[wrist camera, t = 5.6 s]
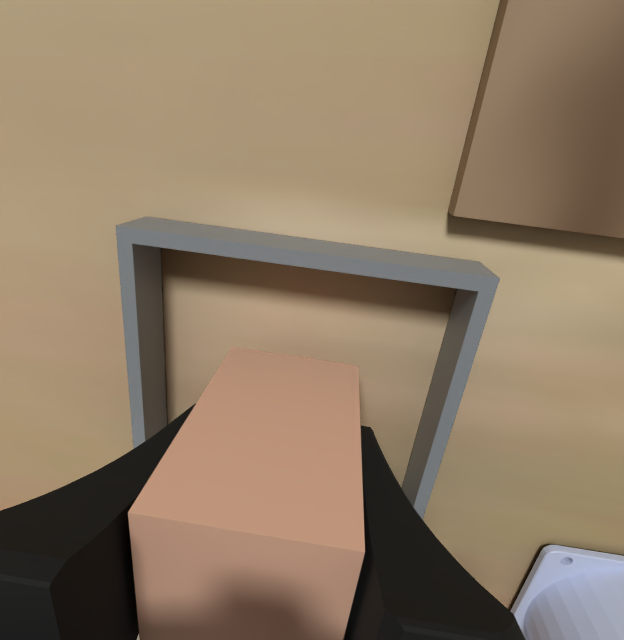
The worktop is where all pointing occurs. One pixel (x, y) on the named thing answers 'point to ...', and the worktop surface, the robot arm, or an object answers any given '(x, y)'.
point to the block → (255, 507)
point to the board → (549, 120)
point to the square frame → (154, 233)
